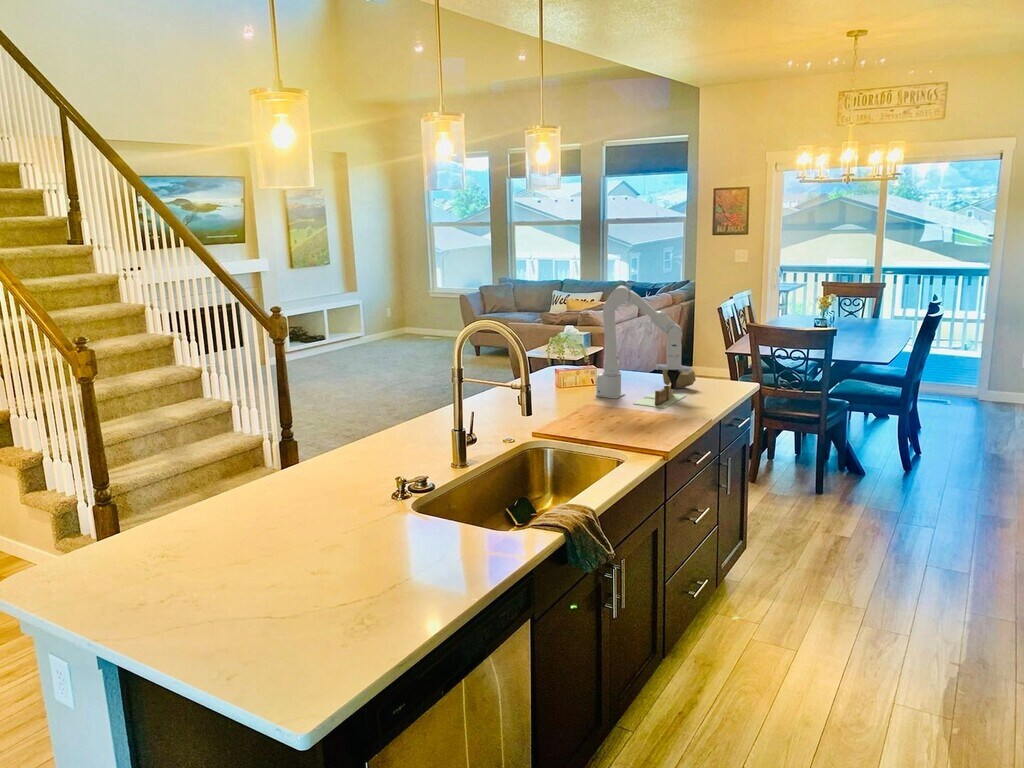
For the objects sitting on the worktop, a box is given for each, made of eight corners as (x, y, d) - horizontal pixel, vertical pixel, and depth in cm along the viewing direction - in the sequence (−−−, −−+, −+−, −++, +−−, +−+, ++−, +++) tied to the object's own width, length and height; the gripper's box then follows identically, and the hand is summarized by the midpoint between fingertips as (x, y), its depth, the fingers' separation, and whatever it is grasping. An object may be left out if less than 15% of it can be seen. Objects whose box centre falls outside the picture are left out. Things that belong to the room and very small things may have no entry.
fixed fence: (653, 406, 292) (654, 391, 290) (664, 399, 300) (665, 385, 299) (658, 406, 290) (658, 391, 289) (669, 400, 299) (670, 386, 298)
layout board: (633, 404, 295) (633, 403, 295) (655, 392, 313) (655, 391, 313) (664, 408, 288) (665, 407, 288) (686, 396, 306) (686, 395, 306)
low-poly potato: (654, 387, 323) (661, 380, 312) (659, 363, 326) (666, 355, 315) (688, 396, 323) (697, 389, 312) (693, 372, 326) (702, 365, 315)
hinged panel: (669, 398, 300) (669, 385, 299) (665, 397, 301) (665, 385, 299) (674, 393, 307) (674, 381, 306) (670, 393, 308) (670, 380, 307)
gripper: (695, 354, 300) (694, 388, 303) (660, 352, 308) (660, 385, 311) (688, 357, 294) (688, 392, 297) (653, 354, 302) (653, 388, 305)
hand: (673, 388), depth 303 cm, fingers closed, pressing on hinged panel
